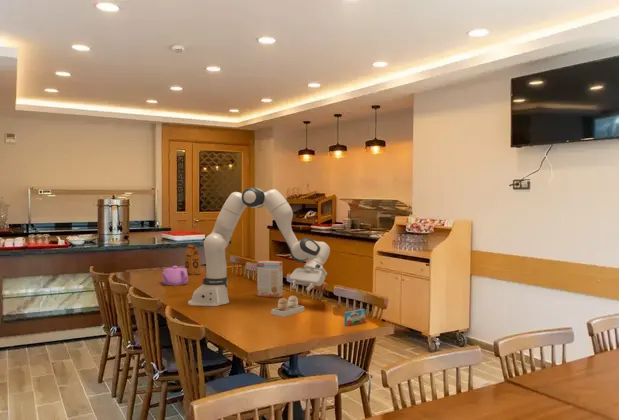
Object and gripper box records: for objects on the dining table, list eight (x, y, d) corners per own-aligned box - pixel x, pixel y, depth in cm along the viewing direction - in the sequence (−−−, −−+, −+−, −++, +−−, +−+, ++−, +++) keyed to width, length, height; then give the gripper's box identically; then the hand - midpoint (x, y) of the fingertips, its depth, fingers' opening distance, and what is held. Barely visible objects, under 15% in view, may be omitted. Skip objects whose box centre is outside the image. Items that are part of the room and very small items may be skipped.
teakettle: (188, 285, 335) (188, 267, 335) (161, 286, 331) (161, 267, 331) (188, 281, 352) (187, 263, 351) (162, 282, 348) (162, 264, 347)
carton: (283, 318, 248) (283, 311, 248) (271, 315, 253) (271, 309, 253) (304, 312, 260) (304, 306, 260) (292, 310, 266) (292, 304, 266)
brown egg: (278, 315, 251) (278, 299, 251) (277, 313, 256) (277, 297, 256) (288, 315, 252) (288, 299, 252) (287, 312, 257) (287, 297, 257)
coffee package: (189, 275, 377) (189, 246, 376) (183, 273, 387) (183, 244, 386) (202, 274, 382) (202, 245, 382) (196, 272, 393) (195, 243, 392)
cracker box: (282, 296, 301) (283, 261, 301) (279, 298, 296) (279, 262, 295) (261, 294, 306) (261, 260, 305) (257, 296, 300) (257, 261, 300)
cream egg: (288, 312, 257) (288, 296, 257) (287, 310, 262) (287, 294, 262) (298, 312, 258) (298, 296, 257) (297, 310, 263) (297, 294, 262)
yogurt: (346, 326, 234) (346, 312, 234) (344, 325, 235) (344, 312, 235) (365, 322, 241) (365, 309, 241) (363, 321, 242) (363, 308, 242)
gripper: (294, 263, 276) (282, 283, 269) (324, 266, 263) (312, 288, 256) (300, 270, 280) (288, 290, 272) (329, 274, 267) (318, 295, 259)
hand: (300, 289), depth 264 cm, fingers open, 8 cm apart
